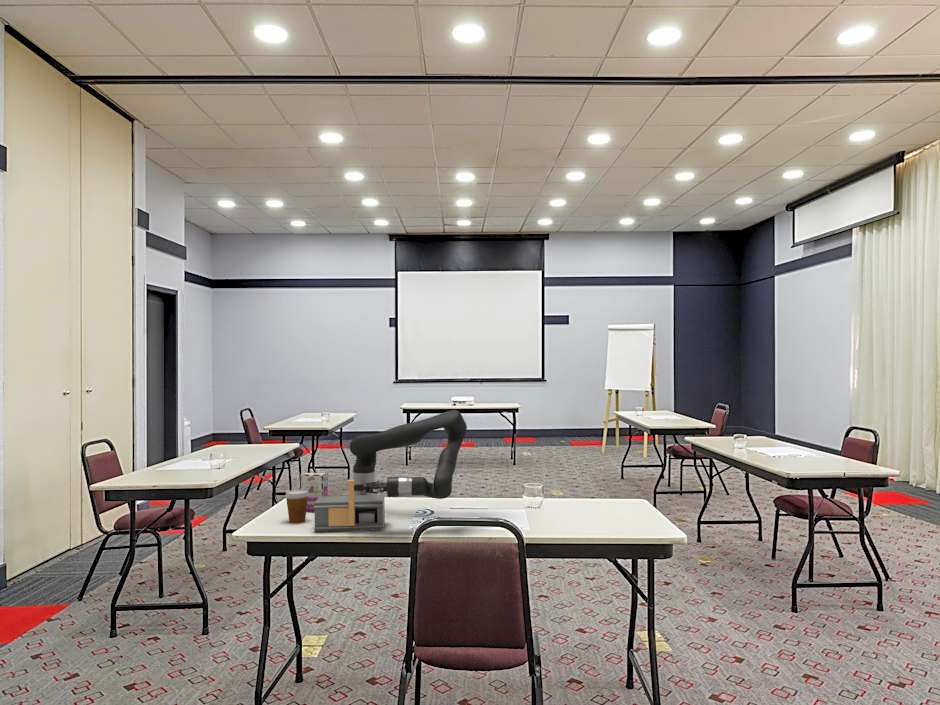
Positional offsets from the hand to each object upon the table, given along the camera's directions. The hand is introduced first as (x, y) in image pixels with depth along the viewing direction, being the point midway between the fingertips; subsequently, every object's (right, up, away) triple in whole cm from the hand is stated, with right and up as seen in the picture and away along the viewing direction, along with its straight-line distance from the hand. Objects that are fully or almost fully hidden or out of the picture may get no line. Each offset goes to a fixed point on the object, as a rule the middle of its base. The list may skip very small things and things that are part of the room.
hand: (354, 487), depth 249 cm
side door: (-5, -15, 0) cm, 16 cm away
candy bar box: (-24, -18, +37) cm, 48 cm away
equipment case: (-3, -17, +9) cm, 19 cm away
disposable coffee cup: (-27, -18, +19) cm, 37 cm away
